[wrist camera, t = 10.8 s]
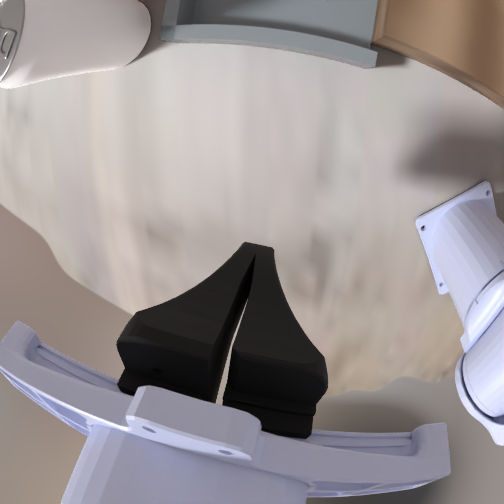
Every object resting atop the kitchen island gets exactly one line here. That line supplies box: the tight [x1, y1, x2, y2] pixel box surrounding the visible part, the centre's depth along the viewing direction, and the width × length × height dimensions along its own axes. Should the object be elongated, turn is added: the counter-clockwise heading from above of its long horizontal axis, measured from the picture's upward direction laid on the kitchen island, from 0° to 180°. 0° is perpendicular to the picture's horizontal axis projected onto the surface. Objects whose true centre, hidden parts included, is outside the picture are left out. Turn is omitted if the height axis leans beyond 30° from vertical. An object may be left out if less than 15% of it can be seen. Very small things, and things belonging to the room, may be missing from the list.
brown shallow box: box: [371, 0, 504, 109], centre depth 9 cm, size 13×10×4 cm
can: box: [0, 0, 151, 89], centre depth 10 cm, size 6×6×12 cm
